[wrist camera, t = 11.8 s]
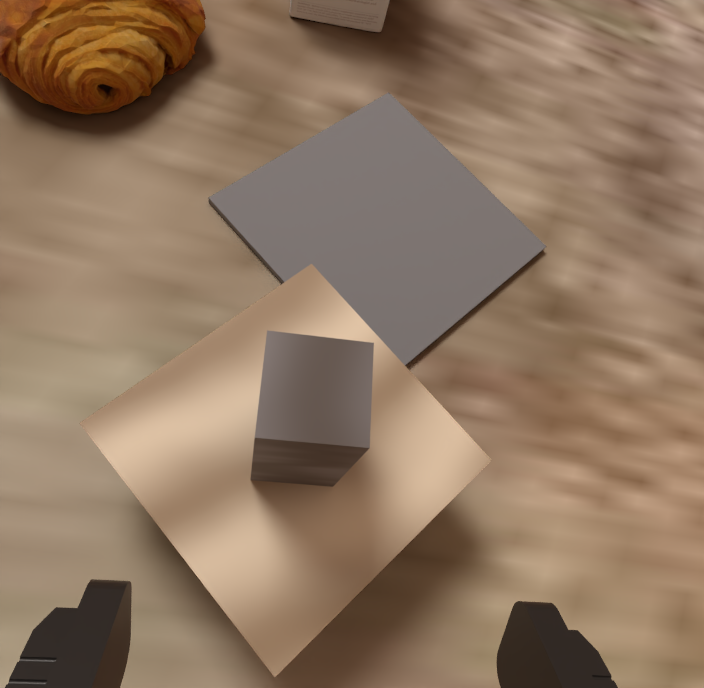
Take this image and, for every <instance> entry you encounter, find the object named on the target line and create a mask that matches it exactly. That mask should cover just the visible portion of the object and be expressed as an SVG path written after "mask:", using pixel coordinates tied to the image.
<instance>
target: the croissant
mask: <svg viewBox="0 0 704 688" xmlns="http://www.w3.org/2000/svg"><path fill="white" fill-rule="evenodd" d="M205 19H206V18H205V14H204V10H203V7H202V4H201V2H200V0H0V73H1V74H2V75H3V76H4V77H7V78H8V79H9V80H10V81H11V82H12V83H14V84H15V85H16V86H18V87H19V88H20V89H22V90H23V91H25V92H27V93H29V94H30V95H31V96H32V97H33V98H34V99H36V100H37V101H39V102H41V103H45V104H49V105H53V106H55V107H57V108H59V109H61V110H64V111H69V112H74V113H80V114H87V115H88V114H92V113H107V112H111V111H114V110H117V109H118V108H120V107H121V106H124V105H127V104H130V103H132V102H133V101H134V100H135V99H137V98H138V97H139V96H149V95H150V94H151V88H152V87H153V86H154V85H156V84H157V83H158V82H159V81H160V80H161V79H162V77H163V75H171V74H173V73H174V72H177V71H179V70H180V69H183V68H184V67H185V66H186V65H187V64H188V62H189V61H190V60H191V59H192V55H193V54H195V51H194V46H195V45H196V41H197V39H198V37H199V35H200V34H201V33H202V32H203V31H204V29H205V21H204V20H205Z"/></svg>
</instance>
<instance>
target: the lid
mask: <svg viewBox="0 0 704 688" xmlns="http://www.w3.org/2000/svg"><path fill="white" fill-rule="evenodd" d="M80 424H81V426H82V427H83V428H84V430H85V431H86V432H87V434H88V435H89V436H90V437H91V439H92V440H93V441H94V443H95V444H96V445H97V447H98V448H99V449H100V451H101V452H102V453H103V454H104V456H105V457H106V458H107V460H108V461H109V462H110V464H111V465H112V466H113V467H114V469H115V470H116V471H117V473H118V474H119V475H120V477H121V478H122V479H123V480H124V482H125V483H126V484H127V486H128V487H129V488H130V490H131V491H132V492H133V493H134V495H135V496H136V497H137V499H138V500H139V501H140V503H141V504H142V505H143V507H144V508H145V509H146V510H147V512H148V513H149V514H150V516H151V517H152V518H153V520H154V521H155V522H156V523H157V525H158V526H159V527H160V529H161V530H162V531H163V533H164V534H165V535H166V536H167V538H168V539H169V540H170V542H171V543H172V544H173V546H174V547H175V548H176V549H177V551H178V552H179V553H180V555H181V556H182V557H183V559H184V560H185V561H186V563H187V564H188V565H189V566H190V568H191V569H192V570H193V572H194V573H195V574H196V576H197V577H198V578H199V579H200V581H201V582H202V583H203V585H204V586H205V587H206V589H207V590H208V591H209V592H210V594H211V595H212V596H213V598H214V599H215V600H216V602H217V603H218V604H219V605H220V607H221V608H222V609H223V611H224V612H225V613H226V615H227V616H228V617H229V619H230V620H231V621H232V622H233V624H234V625H235V626H236V628H237V629H238V630H239V632H240V633H241V634H242V635H243V637H244V638H245V639H246V641H247V642H248V643H249V645H250V646H251V647H252V648H253V650H254V651H255V652H256V654H257V655H258V656H259V658H260V659H261V660H262V661H263V663H264V664H265V665H266V667H267V668H268V669H269V671H270V672H271V673H272V675H273V676H274V677H276V676H277V675H278V674H279V673H280V672H281V671H282V670H283V669H284V668H285V667H286V666H287V665H288V664H289V663H290V662H291V661H292V660H293V659H294V658H295V657H296V656H297V655H298V654H299V653H300V652H301V651H302V650H303V649H304V648H305V647H306V646H307V645H308V644H309V643H310V642H311V641H312V640H313V639H314V638H315V637H316V636H317V635H318V634H319V633H320V632H321V631H322V630H323V629H324V628H325V627H326V626H327V625H328V624H329V623H330V622H331V621H332V620H333V619H334V618H335V617H336V616H337V615H338V614H339V613H340V612H341V611H342V610H343V609H344V608H345V607H346V606H347V605H348V604H349V603H350V602H351V601H352V600H353V599H354V598H355V597H356V596H357V595H358V594H359V593H360V592H361V591H362V590H363V589H364V588H365V587H366V586H367V585H368V584H369V583H370V582H371V581H372V580H373V579H374V578H375V577H376V576H377V575H378V574H379V573H380V572H381V571H382V570H383V569H384V568H385V567H386V566H387V565H388V564H389V563H390V562H391V561H392V560H393V559H394V558H395V557H396V556H397V555H398V554H399V553H400V552H401V551H402V550H403V549H404V548H405V547H406V546H407V544H408V543H409V542H410V541H411V540H412V539H413V538H414V537H415V536H416V535H417V534H418V533H419V532H420V531H421V530H422V529H423V528H424V527H425V526H426V525H427V524H428V523H429V522H430V521H431V520H432V519H433V518H434V517H435V516H436V515H437V514H438V513H439V512H440V511H441V510H442V509H443V508H444V507H445V506H446V505H447V504H448V503H449V502H450V501H451V500H452V499H453V498H454V497H455V496H456V495H457V494H458V493H459V492H460V491H461V490H462V489H463V488H464V487H465V486H466V485H467V484H468V483H469V482H470V481H471V480H472V479H473V478H474V477H475V476H476V475H477V474H478V473H479V472H480V471H481V470H482V469H483V468H484V467H485V466H486V465H487V464H488V463H489V462H490V461H491V459H490V458H489V457H488V456H487V455H486V454H485V453H484V451H483V450H482V449H481V448H480V447H479V446H478V445H477V444H476V443H475V442H474V441H473V439H472V438H471V437H470V436H469V435H468V434H467V433H466V432H465V431H464V430H463V429H462V427H461V426H460V425H459V424H458V423H457V422H456V421H455V420H454V419H453V418H452V417H451V415H450V414H449V413H448V412H447V411H446V410H445V409H444V408H443V407H442V406H441V404H440V403H439V402H438V401H437V400H436V399H435V398H434V397H433V396H432V395H431V394H430V392H429V391H428V390H427V389H426V388H425V387H424V386H423V385H422V384H421V383H420V382H419V380H418V379H417V378H416V377H415V376H414V375H413V374H412V373H411V372H410V371H409V370H408V368H407V367H406V366H405V365H404V364H403V363H402V362H401V361H400V360H399V359H398V358H397V356H396V355H395V354H394V353H393V352H392V351H391V350H390V349H389V348H388V347H387V346H386V344H385V343H384V342H383V341H382V340H381V339H380V338H379V337H378V336H377V335H376V333H375V332H374V331H373V330H372V329H371V328H370V327H369V326H368V325H367V324H366V323H365V321H364V320H363V319H362V318H361V317H360V316H359V315H358V314H357V313H356V312H355V311H354V309H353V308H352V307H351V306H350V305H349V304H348V303H347V302H346V301H345V300H344V299H343V297H342V296H341V295H340V294H339V293H338V292H337V291H336V290H335V289H334V288H333V287H332V285H331V284H330V283H329V282H328V281H327V280H326V279H325V278H324V277H323V276H322V275H321V273H320V272H319V271H318V270H317V269H316V268H315V267H314V266H313V265H312V264H310V265H309V266H307V267H306V268H305V269H303V270H302V271H300V272H299V273H297V274H296V275H294V276H293V277H291V278H290V279H289V280H287V281H286V282H284V283H283V284H281V285H280V286H278V287H277V288H275V289H274V290H273V291H271V292H270V293H268V294H267V295H265V296H264V297H262V298H261V299H259V300H258V301H257V302H255V303H254V304H252V305H251V306H249V307H248V308H246V309H245V310H243V311H242V312H241V313H239V314H238V315H236V316H235V317H233V318H232V319H230V320H229V321H227V322H226V323H225V324H223V325H222V326H220V327H219V328H217V329H216V330H214V331H213V332H211V333H210V334H209V335H207V336H206V337H204V338H203V339H201V340H200V341H198V342H197V343H195V344H194V345H193V346H191V347H190V348H188V349H187V350H185V351H184V352H182V353H181V354H179V355H178V356H177V357H175V358H174V359H172V360H171V361H169V362H168V363H166V364H165V365H163V366H162V367H161V368H159V369H158V370H156V371H155V372H153V373H152V374H150V375H149V376H147V377H146V378H145V379H143V380H142V381H140V382H139V383H137V384H136V385H134V386H133V387H131V388H130V389H129V390H127V391H126V392H124V393H123V394H121V395H120V396H118V397H117V398H115V399H114V400H113V401H111V402H110V403H108V404H107V405H105V406H104V407H102V408H101V409H99V410H98V411H97V412H95V413H94V414H92V415H91V416H89V417H88V418H86V419H85V420H83V421H82V422H81V423H80Z"/></svg>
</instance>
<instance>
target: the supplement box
mask: <svg viewBox="0 0 704 688" xmlns="http://www.w3.org/2000/svg"><path fill="white" fill-rule="evenodd" d="M389 1H390V0H291V1H290V16H292V17H297V18H302V19H307V20H312V21H318V22H323V23H328V24H334V25H338V26H344V27H350V28H355V29H361V30H366V31H372V32H381V30H382V28H383V24H384V20H385V16H386V13H387V9H388V5H389Z"/></svg>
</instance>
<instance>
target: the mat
mask: <svg viewBox="0 0 704 688" xmlns="http://www.w3.org/2000/svg"><path fill="white" fill-rule="evenodd" d="M209 203H210V204H211V205H212V206H213V207H214V209H215V210H216V211H217V212H218V213H219V214H220V215H221V216H222V217H223V219H224V220H225V221H226V222H227V223H228V224H229V225H230V226H231V227H232V229H233V230H234V231H235V232H236V233H237V234H238V235H239V236H240V237H241V239H242V240H243V241H244V242H245V243H246V244H247V245H248V246H249V248H250V249H251V250H252V251H253V252H254V253H255V254H256V255H257V256H258V258H259V259H260V260H261V261H262V262H263V263H264V264H265V265H266V266H267V268H268V269H269V270H270V271H271V272H272V273H273V274H274V275H275V276H276V278H277V279H278V280H279V281H280V282H281V283H282V284H283V283H284V282H286V281H287V280H289V279H290V278H291V277H293V276H294V275H296V274H297V273H299V272H300V271H302V270H303V269H305V268H306V267H307V266H309V265H310V264H312V265H313V266H314V267H315V268H316V269H317V270H318V271H319V272H320V273H321V275H322V276H323V277H324V278H325V279H326V280H327V281H328V282H329V283H330V284H331V285H332V287H333V288H334V289H335V290H336V291H337V292H338V293H339V294H340V295H341V296H342V297H343V299H344V300H345V301H346V302H347V303H348V304H349V305H350V306H351V307H352V308H353V309H354V311H355V312H356V313H357V314H358V315H359V316H360V317H361V318H362V319H363V320H364V321H365V323H366V324H367V325H368V326H369V327H370V328H371V329H372V330H373V331H374V332H375V333H376V335H377V336H378V337H379V338H380V339H381V340H382V341H383V342H384V343H385V344H386V346H387V347H388V348H389V349H390V350H391V351H392V352H393V353H394V354H395V355H396V356H397V358H398V359H399V360H400V361H401V362H402V363H403V364H404V365H405V366H406V365H407V364H408V363H410V362H411V361H412V360H413V359H414V358H415V357H417V356H418V355H419V354H420V353H421V352H423V351H424V350H425V349H426V348H427V347H429V346H430V345H431V344H432V343H433V342H434V341H436V340H437V339H438V338H439V337H440V336H442V335H443V334H444V333H445V332H446V331H448V330H449V329H450V328H451V327H452V326H453V325H455V324H456V323H457V322H458V321H459V320H461V319H462V318H463V317H464V316H465V315H467V314H468V313H469V312H470V311H471V310H472V309H474V308H475V307H476V306H477V305H478V304H480V303H481V302H482V301H483V300H484V299H486V298H487V297H488V296H489V295H490V294H491V293H493V292H494V291H495V290H496V289H497V288H499V287H500V286H501V285H502V284H503V283H504V282H506V281H507V280H508V279H509V278H510V277H512V276H513V275H514V274H515V273H516V272H518V271H519V270H520V269H521V268H522V267H523V266H525V265H526V264H527V263H528V262H529V261H531V260H532V259H533V258H534V257H535V256H537V255H538V254H539V253H540V252H541V251H542V250H543V249H544V248H545V247H546V246H545V245H544V244H543V243H542V242H541V241H540V240H539V239H538V238H537V237H536V236H535V235H534V234H533V233H532V232H531V231H530V230H529V229H528V228H527V227H526V226H525V225H524V224H523V223H522V222H521V221H520V220H519V219H518V218H517V217H516V216H515V215H514V214H513V213H512V212H511V211H510V210H509V209H508V208H507V207H506V206H505V205H503V204H502V203H501V202H500V201H499V200H498V199H497V198H496V197H495V196H494V195H493V194H492V193H491V192H490V191H489V190H488V189H487V188H486V187H485V186H484V185H483V184H482V183H481V182H480V181H479V180H478V179H477V178H476V177H475V176H474V175H473V174H472V173H471V172H470V171H469V170H468V169H467V168H466V167H465V166H464V165H463V164H462V163H460V162H459V161H458V160H457V159H456V158H455V157H454V156H453V155H452V154H451V153H450V152H449V151H448V150H447V149H446V148H445V147H444V146H443V145H442V144H441V143H440V142H439V141H438V140H437V139H436V138H435V137H434V136H433V135H432V134H431V133H430V132H429V131H428V130H427V129H426V128H425V127H424V126H423V125H422V124H421V123H420V122H419V121H418V120H416V119H415V118H414V117H413V116H412V115H411V114H410V113H409V112H408V111H407V110H406V109H405V108H404V107H403V106H402V105H401V104H400V103H399V102H398V101H397V100H396V99H395V98H394V97H393V96H392V95H391V94H390V93H387V94H385V95H383V96H382V97H380V98H378V99H377V100H375V101H373V102H371V103H370V104H368V105H366V106H365V107H363V108H361V109H359V110H358V111H356V112H354V113H353V114H351V115H349V116H347V117H346V118H344V119H342V120H341V121H339V122H337V123H335V124H334V125H332V126H330V127H329V128H327V129H325V130H323V131H322V132H320V133H318V134H317V135H315V136H313V137H311V138H310V139H308V140H306V141H305V142H303V143H301V144H299V145H298V146H296V147H294V148H293V149H291V150H289V151H287V152H286V153H284V154H282V155H281V156H279V157H277V158H275V159H274V160H272V161H270V162H269V163H267V164H265V165H264V166H262V167H260V168H258V169H257V170H255V171H253V172H252V173H250V174H248V175H246V176H245V177H243V178H241V179H240V180H238V181H236V182H234V183H233V184H231V185H229V186H228V187H226V188H224V189H222V190H221V191H219V192H217V193H216V194H214V195H212V196H210V197H209Z"/></svg>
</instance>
